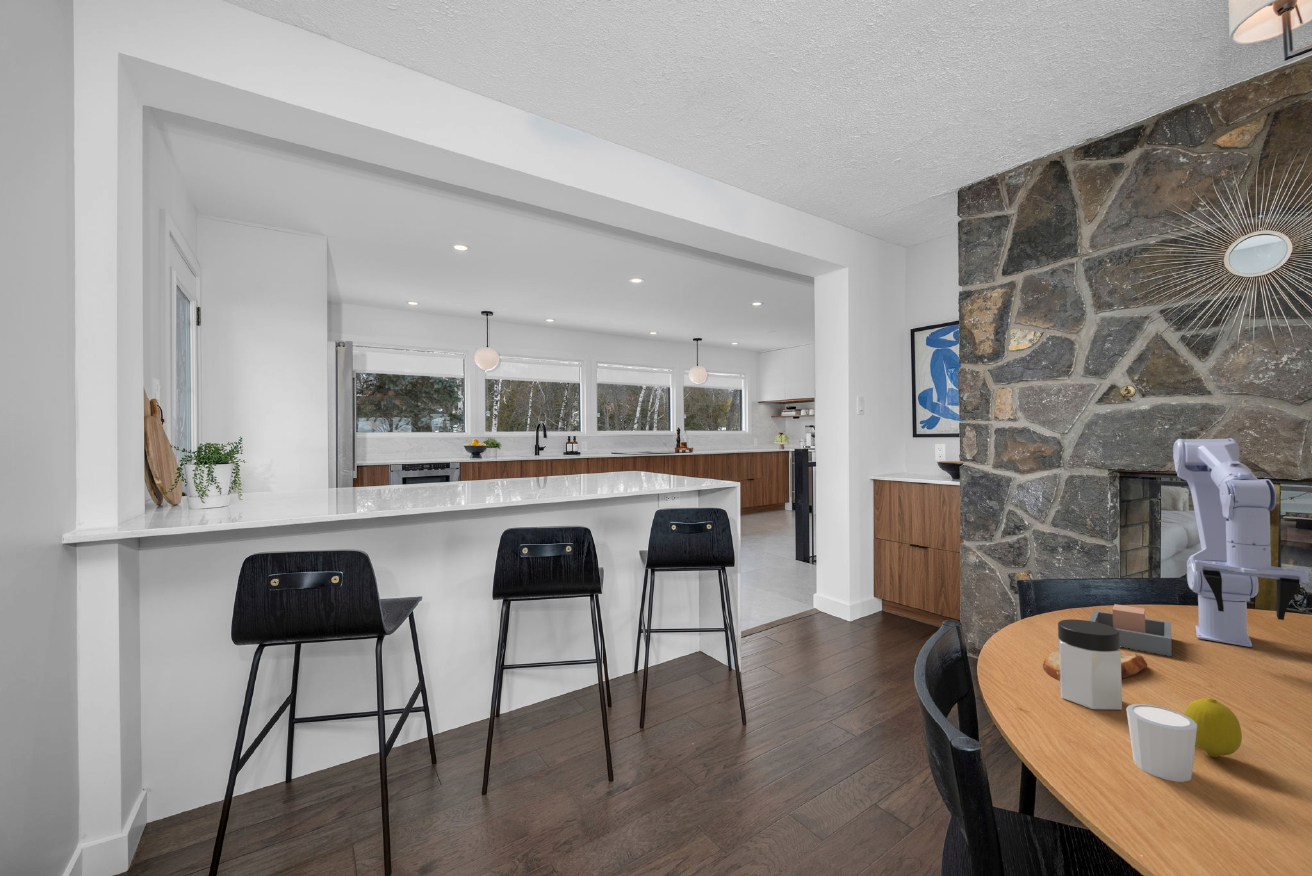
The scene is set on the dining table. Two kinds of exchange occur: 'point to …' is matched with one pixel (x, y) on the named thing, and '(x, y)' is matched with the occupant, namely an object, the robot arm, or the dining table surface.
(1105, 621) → the bin
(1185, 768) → the white cup
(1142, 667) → the bread slice
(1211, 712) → the lemon
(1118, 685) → the jar
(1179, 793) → the dining table surface
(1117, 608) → the block
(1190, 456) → the robot arm
